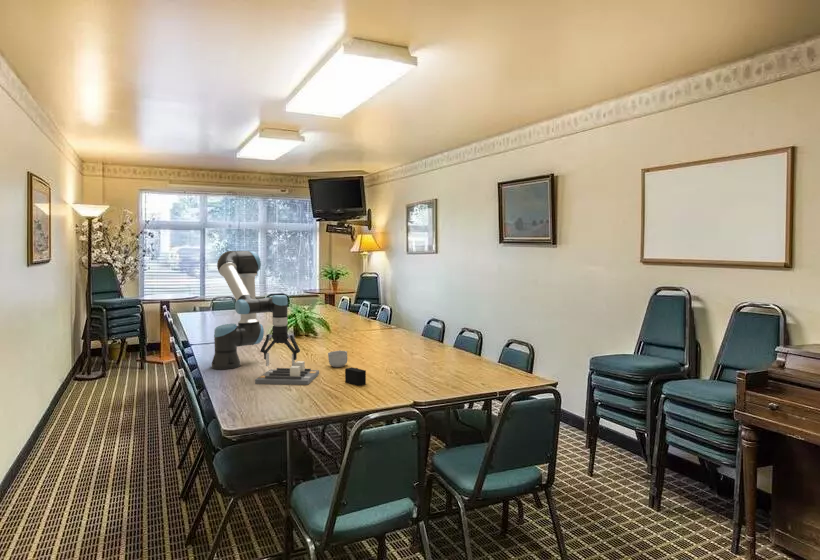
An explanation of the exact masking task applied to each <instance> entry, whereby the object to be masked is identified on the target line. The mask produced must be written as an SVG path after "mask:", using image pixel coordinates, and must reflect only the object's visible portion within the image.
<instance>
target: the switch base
mask: <svg viewBox="0 0 820 560" xmlns="http://www.w3.org/2000/svg"><path fill="white" fill-rule="evenodd" d="M319 375H320V370H318V369H316V370H315V369H312V368H305V371H300V376H290V367H287V368H286V367H276V369H273V368H271V369H269V370H268V371H266V372H265V373H263V374H261V375H260V376H259V377H257V378H256V379H254V380H255V381H254V383H255V384H254V385H291V386H292V385H293V386H296V385H298V386H299V385H301V386H309V384H311V382H313V381H314V379H316V378H317V376H319Z"/></svg>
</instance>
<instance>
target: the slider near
mask: <svg viewBox="0 0 820 560" xmlns="http://www.w3.org/2000/svg"><path fill="white" fill-rule="evenodd" d="M289 368H290V376H300V366H292V365H291V366H290V367H289Z"/></svg>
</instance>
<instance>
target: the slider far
mask: <svg viewBox="0 0 820 560" xmlns="http://www.w3.org/2000/svg"><path fill="white" fill-rule="evenodd" d="M305 363H306V361H304V360H303V361H301V360H300V361H299V360H297V361H295V366H300V371H305V369H306V368H305V367H306V365H305Z"/></svg>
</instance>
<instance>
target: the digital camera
mask: <svg viewBox="0 0 820 560" xmlns="http://www.w3.org/2000/svg"><path fill="white" fill-rule="evenodd" d="M344 369H345V370H344V380H345V381H344V382H345V383H346V384H350V385H354V386H358V387H362V386H365V385H366V383H367V382H366V381H367V378H366V377H367V372H366V369H360V368H358V367H347V368H344Z"/></svg>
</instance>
